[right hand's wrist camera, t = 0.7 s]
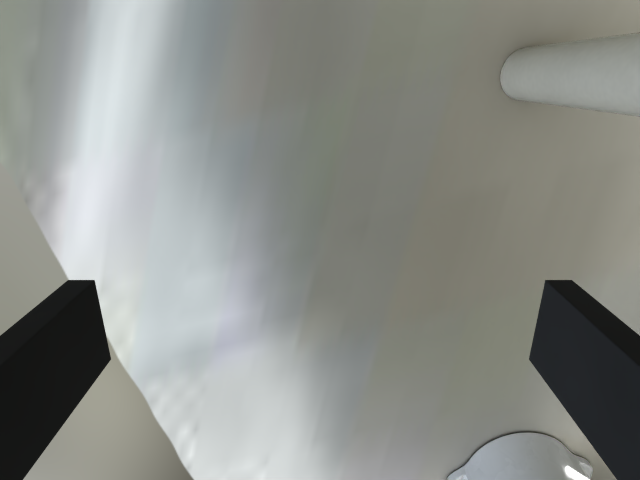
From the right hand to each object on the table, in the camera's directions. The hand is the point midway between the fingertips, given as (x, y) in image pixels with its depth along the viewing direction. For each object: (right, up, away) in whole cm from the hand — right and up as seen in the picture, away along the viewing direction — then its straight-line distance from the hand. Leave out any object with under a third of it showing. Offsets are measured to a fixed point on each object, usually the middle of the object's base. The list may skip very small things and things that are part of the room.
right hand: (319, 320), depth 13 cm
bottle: (+19, +18, +27) cm, 38 cm away
